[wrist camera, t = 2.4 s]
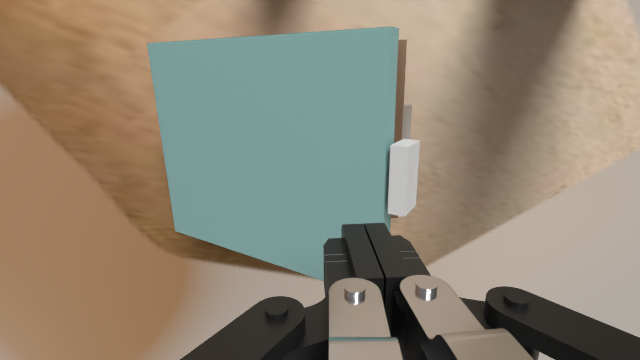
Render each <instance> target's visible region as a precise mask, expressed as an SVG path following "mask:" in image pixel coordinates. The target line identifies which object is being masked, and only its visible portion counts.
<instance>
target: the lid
mask: <svg viewBox="0 0 640 360" xmlns="http://www.w3.org/2000/svg"><path fill="white" fill-rule="evenodd" d="M398 37H399V28H395V27H378V28H364V29H349V30H334V31H320V32H305V33H291V34H276V35H262V36H247V37H232V38H218V39H203V40H189V41H174V42H159V43H147V46H148V53H149V59H150V66H151V73H152V79H153V86H154V93H155V99H156V106H157V113H158V119H159V126H160V133H161V139H162V146H163V152H164V159H165V166H166V172H167V179H168V186H169V192H170V199H171V206H172V212H173V219H174V226H175V231H177V232H180V233H183V234H186V235H189V236H192V237H195V238H198V239H201V240H204V241H207V242H210V243H212V244H215V245H218V246H221V247H224V248H227V249H230V250H233V251H236V252H239V253H242V254H245V255H248V256H251V257H254V258H257V259H260V260H263V261H266V262H269V263H272V264H275V265H278V266H281V267H284V268H287V269H290V270H293V271H296V272H299V273H302V274H305V275H308V276H311V277H314V278H317V279H320V280H323V281H324V256H323V245H324V244H325V243H326V241H327V240H328V238H341V228H342V224H364V223H385V225H386V226H387V228H388V230H389V232H390V222H391V214H393V215H398V216H403V217H405V216H406V215H407V214H408V213H409V212H410V211H411V210H412V209H413V208H414V207H415V206H416V196H417V180H418V165H419V150H420V140H411V139H402V140H400V141H398V142H396V143H394V130H395V107H396V83H397V60H398Z"/></svg>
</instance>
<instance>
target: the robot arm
mask: <svg viewBox="0 0 640 360" xmlns="http://www.w3.org/2000/svg"><path fill="white" fill-rule="evenodd" d="M323 256H324V288H325V298H324V299H323V300H322V301H321V302H319V303H317V304H315V305H312V306H310V307H306V308H304V307H303V305H302V304H301V303H300V302H299V301H297V300H295V299H293V298H290V297H283V296H278V297H271V298H267V299H264V300H262V301H260V302H258V303H257V304H256V305H254V306H253V307H251V308H250V309H249V310H247V311H246V312H245V313H243V314H242V315H240V316H239V317H238V318H236V319H235V320H234V321H232V322H231V323H230V324H228V325H227V326H225V327H224V328H223V329H221V330H220V331H219V332H217V333H216V334H214V335H213V336H212V337H211V338H209V339H208V340H206V341H205V342H204V343H203V344H201V345H199V346H198V347H197V348H195V349H194V350H193V351H191V352H190V353H189V354H187V355H186V356H184V357H183V358H182V359H180V360H538V356H539V352H541V353H543V354H545V355H547V356H549V357H551V358H553V359H555V360H640V338H639V337H637V336H634V335H632V334H629V333H627V332H624V331H622V330H620V329H617V328H615V327H612V326H610V325H607V324H605V323H602V322H600V321H598V320H595V319H593V318H590V317H588V316H585V315H583V314H580V313H578V312H576V311H573V310H571V309H568V308H566V307H564V306H561V305H559V304H556V303H554V302H551V301H549V300H546V299H544V298H542V297H539V296H537V295H534V294H532V293H529V292H527V291H524V290H521V289H518V288H513V287H496V288H493V289H490V290H489V291H488V293H487V294H486V300H485V302H484V301H478V300H471V299H465V298H460V297H458V295H457V294H456V293H455V292H454V291H453V289H452V288H451V287H450V286H449V285H448V284H447V283H446V282H444V281H443V280H441V279H439V278H436V277H433V276H431V275H430V274H429V272H428V270H427V269H426V267H425V265H424V264H423V262H422V261H421V259H420V258H419V256H418V254H417V252H415V249H414V248H413V246H412V244H411V243H410V242H409V241H408V240H406V239H405V238H403V237H402V236H400V235H399V236H391V234H390V232H389V230H388V228H387V226H386V225H385V223H364V224H342V228H341V238H328V240H327V241H326V243H325V244H324V245H323Z"/></svg>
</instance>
